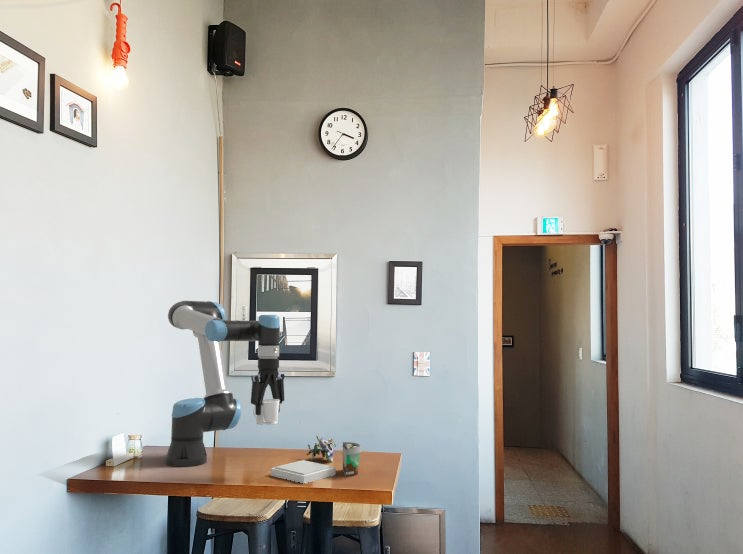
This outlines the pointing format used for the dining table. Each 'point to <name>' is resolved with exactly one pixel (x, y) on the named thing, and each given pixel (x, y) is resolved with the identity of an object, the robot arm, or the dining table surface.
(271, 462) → the dining table surface
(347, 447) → the food container
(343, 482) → the dining table surface
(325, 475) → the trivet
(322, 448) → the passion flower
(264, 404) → the cup
